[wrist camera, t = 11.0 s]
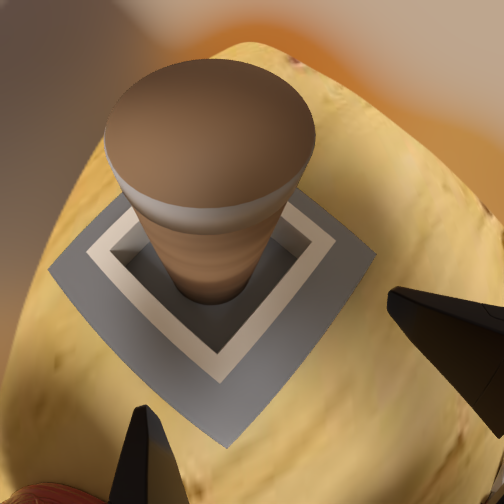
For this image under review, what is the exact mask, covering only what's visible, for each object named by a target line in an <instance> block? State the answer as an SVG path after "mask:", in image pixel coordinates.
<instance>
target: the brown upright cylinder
mask: <svg viewBox="0 0 504 504" xmlns="http://www.w3.org/2000/svg"><path fill="white" fill-rule="evenodd" d="M315 136H316V134H315V125H314V122H313V118H312V115H311V112H310V110H309V108H308V106H307V104H306V103H305V101H304V100H303V98H302V97H301V96H300V95H299V93H298V92H297V91H296V90H295V89H294V88H293V87H292V86H291V85H289V84H288V83H287V82H286V81H284V80H283V79H281V78H280V77H278V76H276V75H275V74H273V73H271V72H269V71H267V70H265V69H262V68H260V67H257V66H254V65H251V64H248V63H244V62H239V61H233V60H225V59H201V60H200V59H199V60H191V61H186V62H181V63H177V64H174V65H170V66H167V67H164V68H162V69H159V70H157V71H155V72H153V73H151V74H149V75H147V76H146V77H144V78H142V79H141V80H139V81H138V82H137V83H135V84H134V85H133V86H132V87H131V88H129V89H128V90H127V91H126V92H125V93H124V94H123V95H122V96H121V98H120V99H119V100H118V102H117V103H116V104H115V106H114V107H113V109H112V111H111V113H110V115H109V118H108V121H107V124H106V128H105V134H104V149H105V153H106V157H107V160H108V162H109V165H110V167H111V169H112V171H113V173H114V175H115V177H116V179H117V181H118V183H119V185H120V187H121V189H122V192H123V194H124V196H125V197H126V198H127V200H128V201H129V203H130V204H131V205H132V207H133V209H134V211H135V213H136V215H137V217H138V219H139V221H140V223H141V225H142V227H143V229H144V231H145V232H146V234H147V236H148V238H149V240H150V242H151V244H152V245H153V247H154V249H155V251H156V253H157V255H158V256H159V258H160V260H161V262H162V263H163V265H164V267H165V269H166V271H167V272H168V274H169V276H170V277H171V279H172V281H173V283H174V284H175V286H176V288H177V289H178V290H179V291H180V293H182V294H183V295H184V296H185V297H186V298H188V299H189V300H191V301H193V302H196V303H198V304H202V305H220V304H223V303H227V302H229V301H231V300H233V299H234V298H236V297H237V296H238V295H239V294H240V293H241V292H242V291H243V290H244V289H245V287H246V286H247V284H248V282H249V280H250V278H251V276H252V274H253V272H254V270H255V268H256V266H257V264H258V262H259V259H260V257H261V255H262V253H263V251H264V249H265V247H266V245H267V243H268V241H269V239H270V237H271V235H272V233H273V230H274V228H275V226H276V224H277V222H278V220H279V218H280V216H281V214H282V212H283V210H284V208H285V205H286V203H287V201H288V200H289V198H290V197H291V195H292V194H293V193H294V191H295V189H296V187H297V185H298V183H299V181H300V179H301V177H302V174H303V172H304V170H305V168H306V166H307V164H308V162H309V160H310V158H311V156H312V153H313V150H314V146H315Z"/></svg>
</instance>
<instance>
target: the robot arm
mask: <svg viewBox="0 0 504 504" xmlns="http://www.w3.org/2000/svg"><path fill="white" fill-rule="evenodd" d="M387 311H388V313H389V314H390V316H391V317H392V318H393V319H394V321H395V322H396V323H397V325H398V326H399V327H400V328H401V330H402V331H403V332H404V333H405V335H406V336H407V337H408V338H409V340H410V341H411V342H412V343H413V344H414V345H415V346H416V347H417V348H418V349H419V350H420V352H421V353H422V354H423V355H424V356H425V357H426V358H427V359H428V360H429V361H430V362H431V363H432V364H433V365H434V366H435V367H436V368H437V370H438V371H439V372H440V373H441V374H442V375H443V376H444V377H445V378H446V379H447V380H448V382H449V383H450V384H451V385H452V386H453V387H454V388H455V389H456V390H457V391H458V393H459V394H460V395H461V396H462V397H463V398H464V399H465V400H466V402H467V403H468V404H469V405H470V406H471V407H472V409H473V410H474V411H475V412H476V413H477V414H478V416H479V417H480V418H481V419H482V420H483V421H484V423H485V424H486V425H487V426H488V427H489V429H490V430H491V431H492V432H493V433H494V435H495V436H496V437H497V438H498V439H500V438H501V437H502V436H503V435H504V307H499V306H494V305H488V304H483V303H478V302H473V301H468V300H463V299H458V298H453V297H449V296H444V295H439V294H434V293H429V292H424V291H419V290H414V289H409V288H404V287H399V286H397V287H395V288H393V289H391V290H390V291H389V292H388V299H387ZM109 500H110V501H108V504H189V501H188V498H187V495H186V492H185V489H184V486H183V483H182V479H181V476H180V473H179V469H178V466H177V463H176V460H175V457H174V455H173V452H172V450H171V447H170V445H169V442H168V440H167V437H166V434H165V432H164V429H163V426H162V424H161V421H160V419H159V418H158V416H157V415H156V414H155V413H154V412H153V411H152V410H151V409H150V407H149V406H148V405H142V406H139V407H136V408H135V409H134V411H133V414H132V417H131V421H130V424H129V427H128V430H127V434H126V437H125V441H124V444H123V447H122V451H121V454H120V458H119V462H118V465H117V469H116V473H115V476H114V480H113V484H112V488H111V492H110V496H109ZM486 504H504V483H503V484H502V486H501V487H500V488H499V489H498V491H497V492H496V493H495V494H494V495H493V496H492V498H491V499H490V500H489V501H488V502H487V503H486Z"/></svg>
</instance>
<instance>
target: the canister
mask: <svg viewBox="0 0 504 504" xmlns="http://www.w3.org/2000/svg"><path fill="white" fill-rule="evenodd" d="M0 504H107V503H105V502H104V501H102V500H100V499H98V498H96V497H94V496H92V495H90V494H88V493H86V492H83V491H81V490H78V489H75V488H73V487H69V486H66V485H62V484H57V483H38V484H35V485H29V486H25V487H23V488H21V489H20V490H17V491H16V492H14V493H13V494H12V495H11V497H10V498H9V499H7V500H5V501H4V502H2V503H0Z"/></svg>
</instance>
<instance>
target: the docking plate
mask: <svg viewBox="0 0 504 504" xmlns="http://www.w3.org/2000/svg"><path fill="white" fill-rule="evenodd" d="M376 255H377V254H376V253H375V252H374V251H373V250H371V249H370V248H369V247H368V246H367V245H366V244H365V243H363V242H362V241H361V240H360V239H359V238H358V237H357V236H355V235H354V234H353V233H352V232H351V231H350V230H348V229H347V228H346V227H345V226H344V225H342V224H341V223H340V222H339V221H338V220H337V219H335V218H334V217H333V216H332V215H330V214H329V213H328V212H327V211H326V210H324V209H323V208H322V207H321V206H319V205H318V204H317V203H316V202H314V201H313V200H312V199H311V198H309V197H308V196H307V195H306V194H304V193H303V192H302V191H301V190H299V189H298V188H297V187H296V189H295V191H294V193H293V194H292V195H291V197H290V198H289V200H288V201H287V203H286V205H285V208H284V210H283V212H282V214H281V216H280V218H279V220H278V222H277V224H276V226H275V228H274V230H273V233H272V235H271V237H270V239H269V241H268V243H267V245H266V247H265V249H264V251H263V253H262V255H261V257H260V259H259V262H258V264H257V266H256V268H255V270H254V272H253V274H252V276H251V278H250V280H249V282H248V284H247V286H246V287H245V289H244V290H243V291H242V292H241V293H240V294H239V295H238V296H237V297H236V298H234V299H233V300H231V301H229V302H227V303H223V304H220V305H202V304H198V303H196V302H193V301H191V300H189V299H188V298H186V297H185V296H184V295H183V294H182V293H180V291H179V290H178V289H177V288H176V286H175V284H174V283H173V281H172V279H171V277H170V276H169V274H168V272H167V271H166V269H165V267H164V265H163V263H162V262H161V260H160V258H159V256H158V255H157V253H156V251H155V249H154V247H153V245H152V244H151V242H150V240H149V238H148V236H147V234H146V232H145V231H144V229H143V227H142V225H141V223H140V221H139V219H138V217H137V215H136V213H135V211H134V209H133V207H132V205H131V204H130V203H129V201H128V200H127V198H126V197H125V196H124V194H123V192H122V193H121V194H120V195H119V196H118V197H117V198H116V199H115V200H114V201H112V202H111V203H110V204H109V205H108V206H107V207H106V208H105V209H104V210H103V211H102V212H101V213H100V214H99V215H98V216H97V217H96V218H95V219H94V220H93V221H92V222H91V223H90V224H89V225H88V226H87V227H86V228H85V229H84V230H83V231H82V232H81V233H80V234H79V235H78V236H77V237H76V238H75V239H74V240H73V242H72V243H71V244H70V245H69V246H68V247H67V248H66V249H65V250H64V251H63V252H62V254H61V255H60V256H59V257H58V258H57V259H56V260H55V262H54V263H53V264H52V265H51V266H50V267H49V268H48V271H49V272H50V274H51V275H52V277H53V278H54V279H55V281H56V282H57V284H58V285H59V286H60V288H61V289H62V290H63V292H64V293H65V294H66V296H67V297H68V298H69V300H70V301H71V302H72V303H73V305H74V306H75V307H76V308H77V310H78V311H79V312H80V313H81V315H82V316H83V317H84V318H85V319H86V321H87V322H88V323H89V324H90V325H91V327H92V328H93V329H94V330H95V331H96V332H97V334H98V335H99V336H100V337H101V338H102V339H103V340H104V341H105V342H106V344H107V345H108V346H109V347H110V348H111V349H112V350H113V351H114V352H115V353H116V354H117V355H118V356H119V357H120V358H121V360H122V361H123V362H124V363H125V364H126V365H127V366H128V367H129V368H130V369H131V370H132V371H133V372H134V373H135V374H136V375H138V376H139V377H140V378H141V379H142V380H143V381H144V382H145V383H146V384H147V385H148V386H149V387H150V388H151V389H152V390H153V391H155V392H156V393H157V394H158V395H159V396H160V397H161V398H162V399H164V400H165V401H166V402H167V403H168V404H169V405H170V406H172V407H173V408H174V409H175V410H176V411H178V412H179V413H180V414H181V415H182V416H184V417H185V418H186V419H187V420H189V421H190V422H191V423H192V424H194V425H195V426H196V427H198V428H199V429H200V430H201V431H203V432H204V433H205V434H207V435H208V436H210V437H211V438H212V439H214V440H215V441H216V442H218V443H219V444H221V445H222V446H223V447H225V448H226V449H227V448H228V447H229V446H230V445H231V444H232V443H233V442H234V441H235V440H236V439H237V438H238V437H239V436H240V435H241V434H242V433H243V432H244V430H245V429H246V428H247V427H248V426H249V425H250V424H251V423H252V422H253V421H254V420H255V418H256V417H257V416H258V415H259V414H260V413H261V412H262V411H263V409H264V408H265V407H266V406H267V405H268V404H269V403H270V401H271V400H272V399H273V398H274V397H275V396H276V394H277V393H278V392H279V391H280V390H281V388H282V387H283V386H284V385H285V384H286V382H287V381H288V380H289V379H290V377H291V376H292V375H293V374H294V372H295V371H296V370H297V369H298V367H299V366H300V365H301V364H302V362H303V361H304V360H305V358H306V357H307V356H308V355H309V353H310V352H311V351H312V349H313V348H314V347H315V345H316V344H317V343H318V341H319V340H320V339H321V337H322V336H323V334H324V333H325V332H326V330H327V329H328V328H329V326H330V325H331V323H332V322H333V320H334V319H335V318H336V316H337V315H338V313H339V312H340V310H341V309H342V308H343V306H344V305H345V303H346V302H347V300H348V299H349V297H350V296H351V294H352V293H353V291H354V290H355V288H356V287H357V285H358V283H359V282H360V280H361V279H362V277H363V276H364V274H365V272H366V271H367V269H368V268H369V266H370V264H371V263H372V261H373V260H374V258H375V256H376Z"/></svg>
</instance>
